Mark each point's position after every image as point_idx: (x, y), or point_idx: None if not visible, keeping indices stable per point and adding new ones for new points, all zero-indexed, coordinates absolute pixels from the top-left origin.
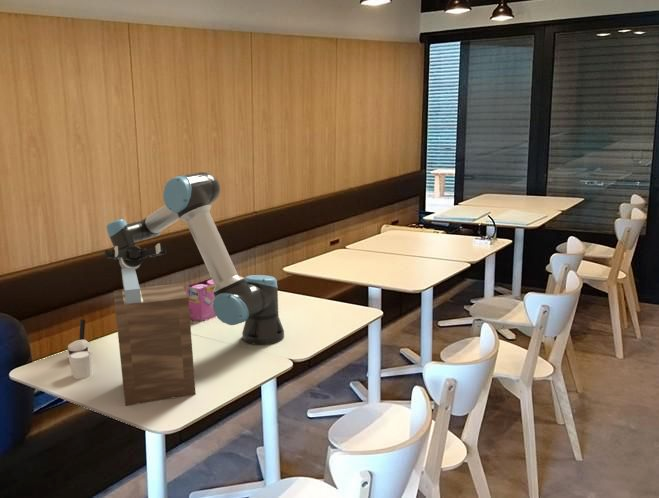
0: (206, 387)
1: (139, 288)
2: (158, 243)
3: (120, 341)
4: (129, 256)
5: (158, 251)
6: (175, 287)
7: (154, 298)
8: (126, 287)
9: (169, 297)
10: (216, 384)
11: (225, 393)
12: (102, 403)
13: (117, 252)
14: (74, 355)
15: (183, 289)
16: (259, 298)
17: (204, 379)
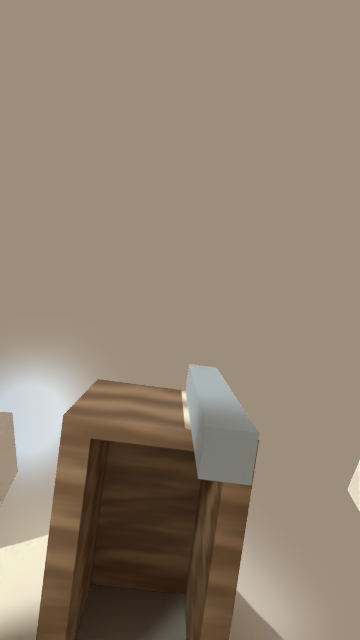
0: (39, 590)
1: (190, 364)
2: (4, 413)
3: None
4: None
5: (14, 475)
6: (94, 405)
7: (158, 392)
8: (215, 371)
9: (130, 387)
10: (13, 594)
11: (25, 554)
12: (249, 618)
13: (357, 480)
14: None
15: (84, 396)
16: None
17: (17, 631)
